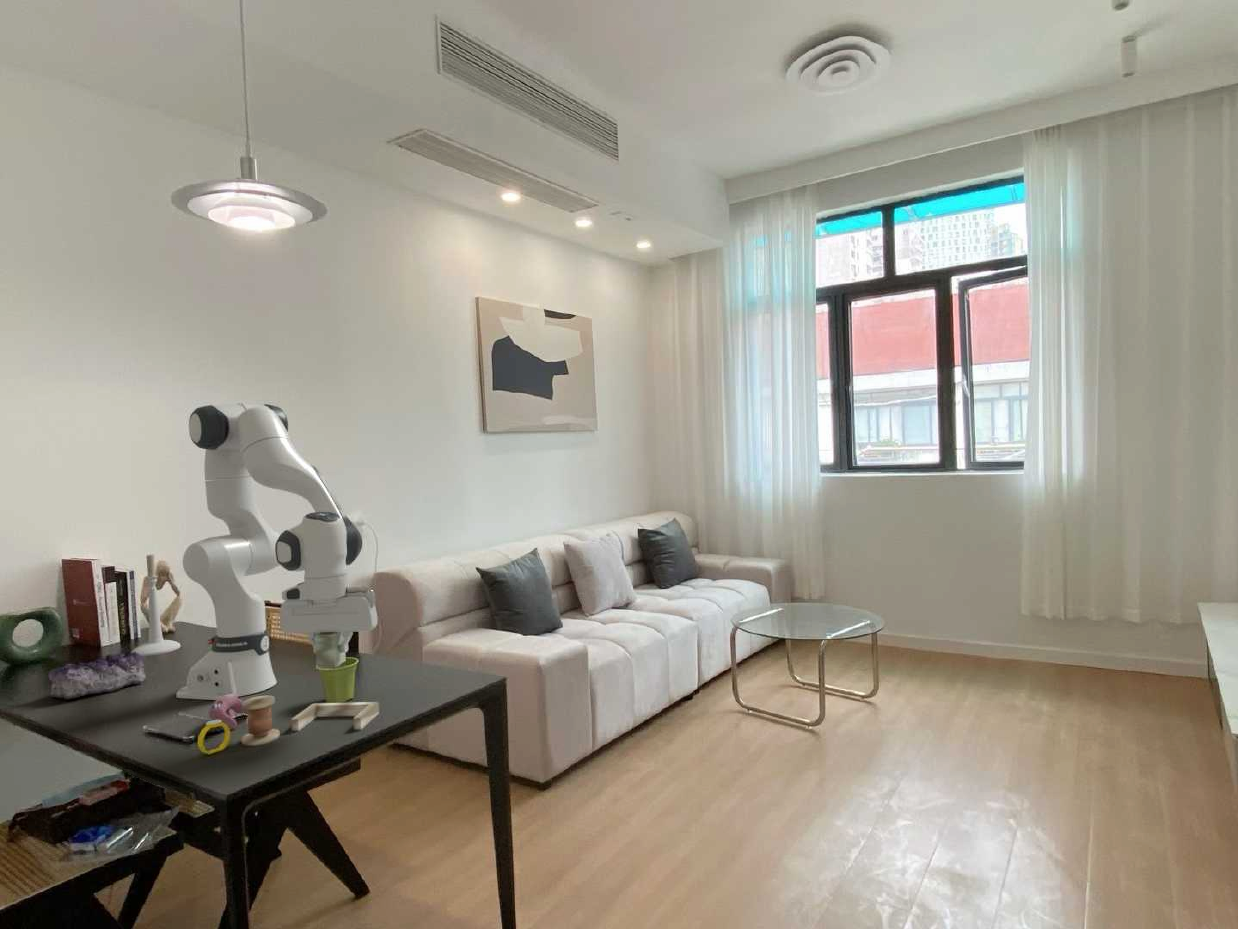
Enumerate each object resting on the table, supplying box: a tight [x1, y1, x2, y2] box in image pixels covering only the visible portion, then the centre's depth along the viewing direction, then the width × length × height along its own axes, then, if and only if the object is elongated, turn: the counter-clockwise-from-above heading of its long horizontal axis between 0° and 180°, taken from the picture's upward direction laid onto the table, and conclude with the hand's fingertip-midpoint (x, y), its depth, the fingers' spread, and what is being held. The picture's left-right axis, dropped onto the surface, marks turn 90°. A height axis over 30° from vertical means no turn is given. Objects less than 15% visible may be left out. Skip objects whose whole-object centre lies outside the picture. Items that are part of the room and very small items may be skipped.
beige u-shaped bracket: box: [290, 701, 380, 732], centre depth 160 cm, size 15×10×2 cm, turn 86°
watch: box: [197, 719, 231, 755], centre depth 147 cm, size 6×3×6 cm, turn 151°
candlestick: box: [131, 554, 181, 657], centre depth 229 cm, size 13×13×30 cm
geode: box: [48, 651, 147, 700], centre depth 191 cm, size 20×12×10 cm, turn 136°
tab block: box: [315, 632, 347, 668], centre depth 159 cm, size 4×5×7 cm
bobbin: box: [241, 694, 281, 747], centre depth 152 cm, size 7×7×8 cm
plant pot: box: [315, 656, 359, 703], centre depth 175 cm, size 9×9×9 cm
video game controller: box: [208, 694, 247, 731], centre depth 163 cm, size 10×5×7 cm, turn 6°
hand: (331, 652), depth 159 cm, fingers closed on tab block, 4 cm apart
